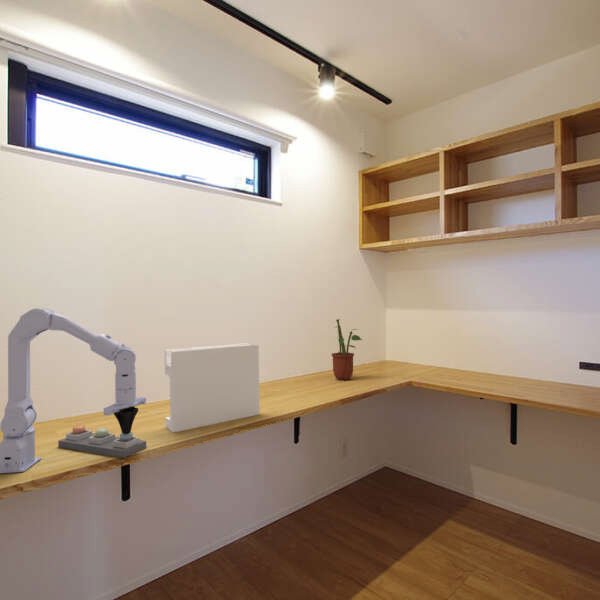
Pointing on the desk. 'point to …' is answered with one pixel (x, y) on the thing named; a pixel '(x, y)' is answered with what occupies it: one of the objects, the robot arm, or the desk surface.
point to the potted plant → (343, 357)
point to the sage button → (101, 432)
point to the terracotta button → (78, 429)
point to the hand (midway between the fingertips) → (126, 433)
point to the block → (212, 385)
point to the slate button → (126, 436)
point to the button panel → (102, 444)
